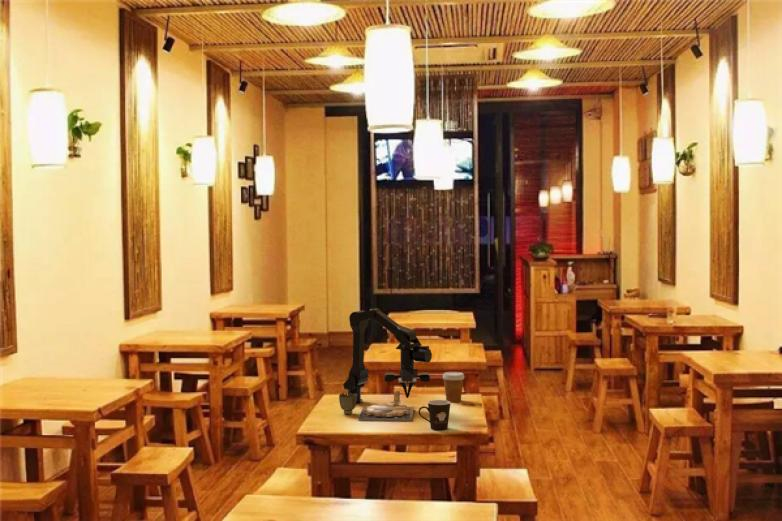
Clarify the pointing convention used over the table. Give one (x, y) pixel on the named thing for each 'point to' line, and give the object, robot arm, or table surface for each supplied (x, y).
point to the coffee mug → (438, 414)
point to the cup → (348, 402)
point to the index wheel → (388, 408)
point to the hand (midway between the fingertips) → (407, 397)
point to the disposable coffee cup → (453, 386)
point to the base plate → (404, 417)
